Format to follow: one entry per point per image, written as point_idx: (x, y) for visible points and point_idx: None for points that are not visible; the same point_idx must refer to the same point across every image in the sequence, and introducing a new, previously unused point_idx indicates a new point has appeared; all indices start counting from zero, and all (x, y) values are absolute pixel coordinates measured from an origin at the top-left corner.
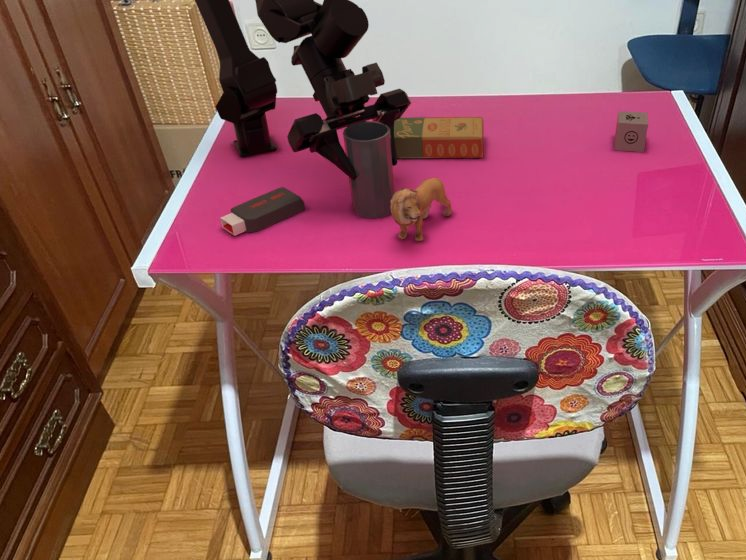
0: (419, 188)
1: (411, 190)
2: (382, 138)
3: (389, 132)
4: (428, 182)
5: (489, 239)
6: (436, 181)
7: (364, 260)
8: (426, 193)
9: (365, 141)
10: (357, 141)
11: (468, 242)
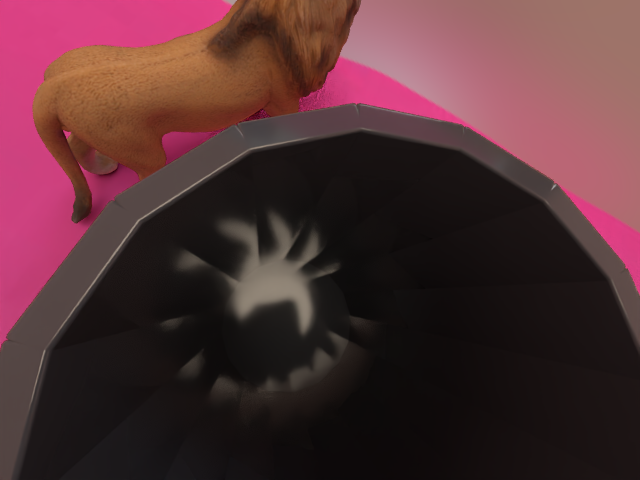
0: (182, 62)
1: (244, 6)
2: (281, 124)
3: (97, 223)
4: (118, 61)
5: (82, 2)
6: (74, 53)
7: (403, 104)
8: (171, 40)
9: (495, 148)
10: (567, 202)
11: (143, 24)
